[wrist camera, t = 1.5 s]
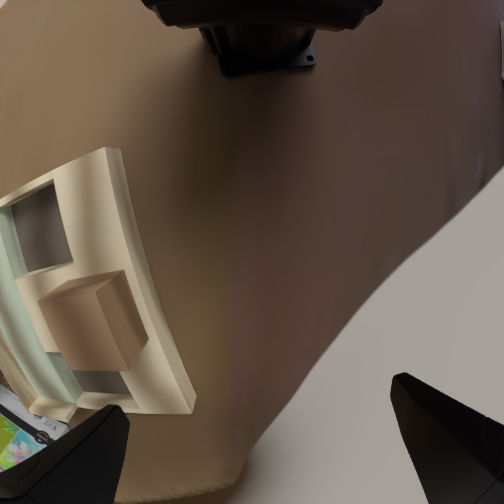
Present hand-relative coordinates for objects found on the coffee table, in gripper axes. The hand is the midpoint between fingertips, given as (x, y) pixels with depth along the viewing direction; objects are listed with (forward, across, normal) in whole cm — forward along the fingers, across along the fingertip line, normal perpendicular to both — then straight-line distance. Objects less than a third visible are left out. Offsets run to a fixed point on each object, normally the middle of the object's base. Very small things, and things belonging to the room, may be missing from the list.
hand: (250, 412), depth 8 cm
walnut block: (+11, +11, 0) cm, 16 cm away
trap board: (+13, +18, 0) cm, 23 cm away
